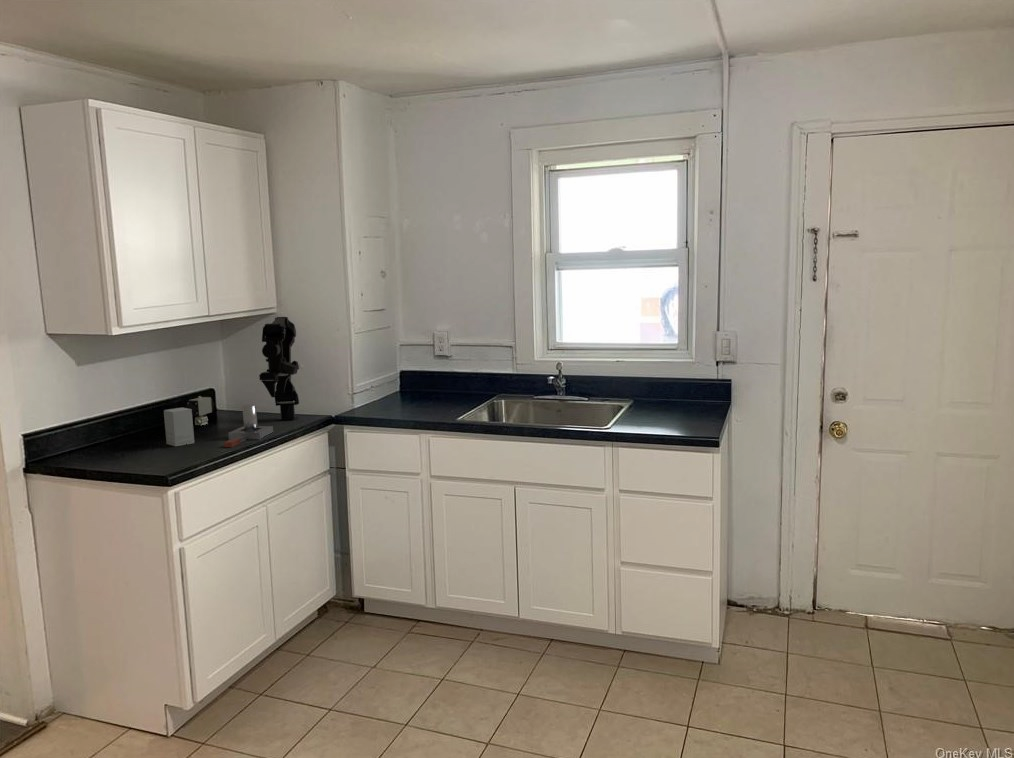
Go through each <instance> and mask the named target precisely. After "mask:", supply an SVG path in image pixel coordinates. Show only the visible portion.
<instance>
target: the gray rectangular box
mask: <svg viewBox="0 0 1014 758" xmlns="http://www.w3.org/2000/svg"><path fill="white" fill-rule="evenodd" d="M272 432H273V433H274V426H272V425H267V426H263V425H260V426H258V430H257V431H244V425H243V426H241V427H238V428H236V429H234V430H232V431H229V432H227V433H228V440H226V441H224V442H223V448H234V447H235V445H236V446H238V445H240V444H242V443H243V442H242V441H244V442H245V440H246V441H248V440H262V439H263V437H264V436H266V435H268V434H270V433H272ZM273 433H272V434H273ZM270 435H271V434H270ZM268 436H269V435H268ZM266 437H267V436H266ZM261 438H262V439H261ZM264 438H265V437H264ZM247 439H248V440H247ZM241 442H242V443H241ZM239 443H240V444H239ZM237 444H238V445H237ZM233 446H234V447H233Z"/></svg>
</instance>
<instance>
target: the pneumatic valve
mask: <svg viewBox="0 0 1014 758" xmlns="http://www.w3.org/2000/svg"><path fill="white" fill-rule="evenodd" d="M214 407H215V401H214V400H213V398H212V396H201V395H199V396H198V397H196V398H193V399H189V400H187V403H186V406H185V408H188V409H192V417H195V418H194V424H195V426H196V425H198V426H199V425H200V426H201V427H203V426H202V425H204V426H207V425H209V423H208V421H209V419H208V416H207V414H210V413H211V414H212V413H214V412H213V411H214ZM206 424H207V425H206Z"/></svg>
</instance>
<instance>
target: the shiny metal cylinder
mask: <svg viewBox="0 0 1014 758" xmlns="http://www.w3.org/2000/svg"><path fill="white" fill-rule="evenodd" d="M242 417H243V418H242V419H243V426H244V431H257V430H258V416H257V405H256V404H244V405H242Z"/></svg>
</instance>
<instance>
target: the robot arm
mask: <svg viewBox="0 0 1014 758" xmlns="http://www.w3.org/2000/svg"><path fill="white" fill-rule="evenodd" d="M295 326H296V325H295V323H293V322H292V321H291V320H289V317H288V316H277V317H274V320H273V321H272V323H265V324H264V326H263V327H262V334H261V335H262V336H261V343H265V344H264V345H263V347H262V349H261V353H262V355H263V356H264V357H265V362H267V366H268V368H267V369H266V371H263V372H261V373H260V374H259V378H258V379H259V381H261V383H263V385H264V387H265V388H266V390H267V392H268V394H269V396H270V397H271V398H274V403H275V406H276V407H278V406H279V411H280V417H279V418H277V421H294V420H296V419H298V418H299V416H296V414H295V413H296V412H295V406H297V405H299V404H300V400H299V394H298V393H297V391H296V387H295V385H294V384H293V383H292V376H293V375H296V374H297V373H298V370H300V364H299V362H298V361H296V360H293V361H292V354H291V353H292V347H293V345H294V343H295V342H296V341H295V340H296V337H297V329H296V327H295ZM293 419H294V420H293Z"/></svg>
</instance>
